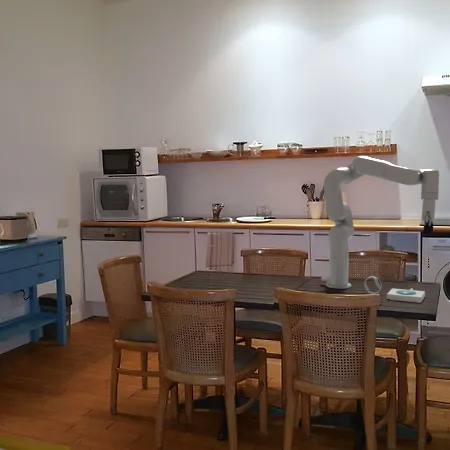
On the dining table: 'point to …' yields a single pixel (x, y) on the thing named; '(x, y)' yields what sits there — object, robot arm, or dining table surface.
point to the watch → (377, 282)
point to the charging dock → (406, 295)
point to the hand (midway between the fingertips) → (428, 232)
